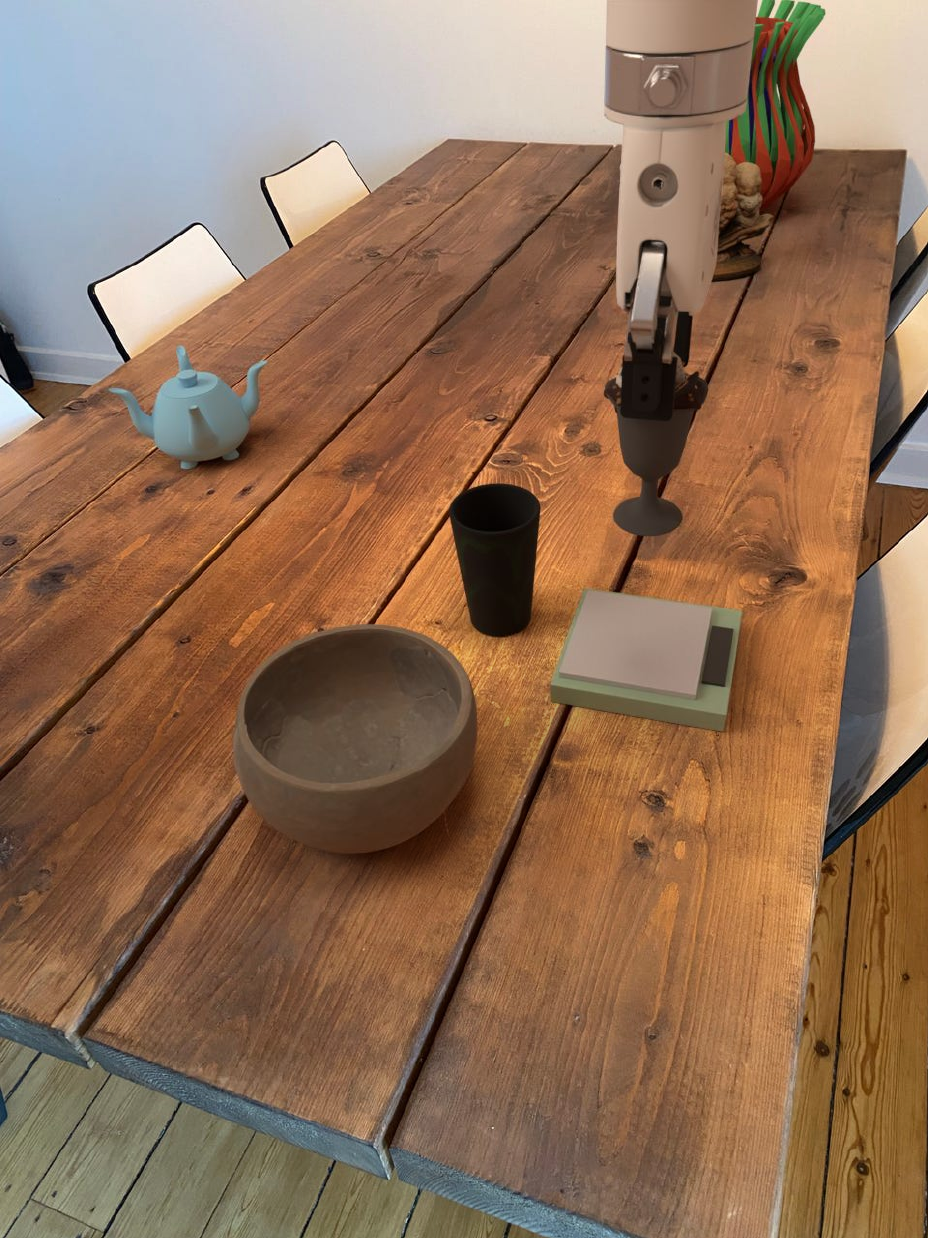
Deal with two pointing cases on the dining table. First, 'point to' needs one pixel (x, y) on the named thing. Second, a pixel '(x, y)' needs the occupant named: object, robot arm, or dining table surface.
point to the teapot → (197, 414)
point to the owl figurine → (739, 220)
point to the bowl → (355, 737)
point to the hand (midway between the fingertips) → (655, 387)
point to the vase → (776, 100)
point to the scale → (649, 659)
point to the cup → (497, 554)
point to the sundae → (655, 453)
